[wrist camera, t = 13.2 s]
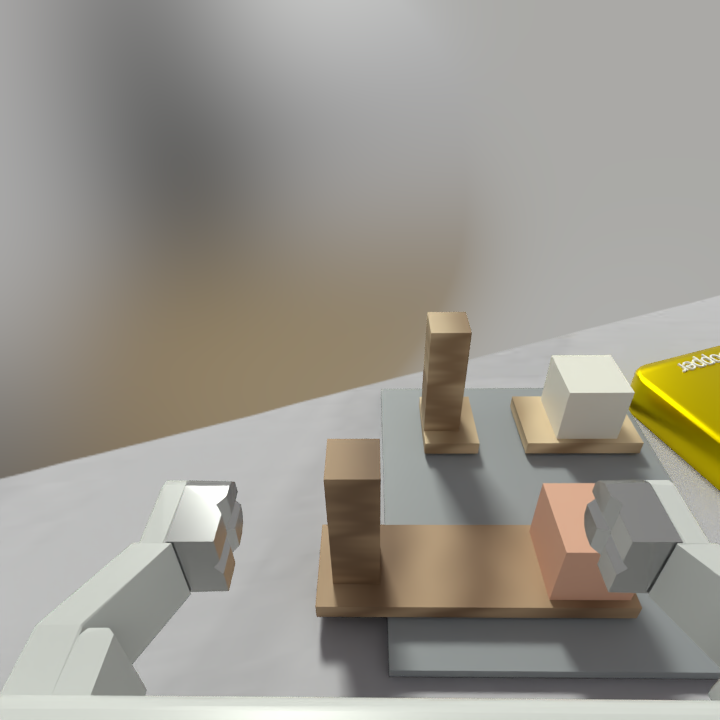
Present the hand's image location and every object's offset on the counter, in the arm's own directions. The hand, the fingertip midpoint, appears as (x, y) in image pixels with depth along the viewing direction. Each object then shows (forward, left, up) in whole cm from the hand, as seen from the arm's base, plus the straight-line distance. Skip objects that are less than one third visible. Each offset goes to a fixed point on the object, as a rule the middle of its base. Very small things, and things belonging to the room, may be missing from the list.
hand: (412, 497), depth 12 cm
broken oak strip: (+13, +26, -23) cm, 37 cm away
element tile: (+33, +27, -25) cm, 49 cm away
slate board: (+12, +19, -24) cm, 33 cm away
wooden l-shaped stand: (+5, +12, -23) cm, 26 cm away
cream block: (+17, +26, -22) cm, 38 cm away
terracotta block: (+13, +12, -22) cm, 28 cm away
